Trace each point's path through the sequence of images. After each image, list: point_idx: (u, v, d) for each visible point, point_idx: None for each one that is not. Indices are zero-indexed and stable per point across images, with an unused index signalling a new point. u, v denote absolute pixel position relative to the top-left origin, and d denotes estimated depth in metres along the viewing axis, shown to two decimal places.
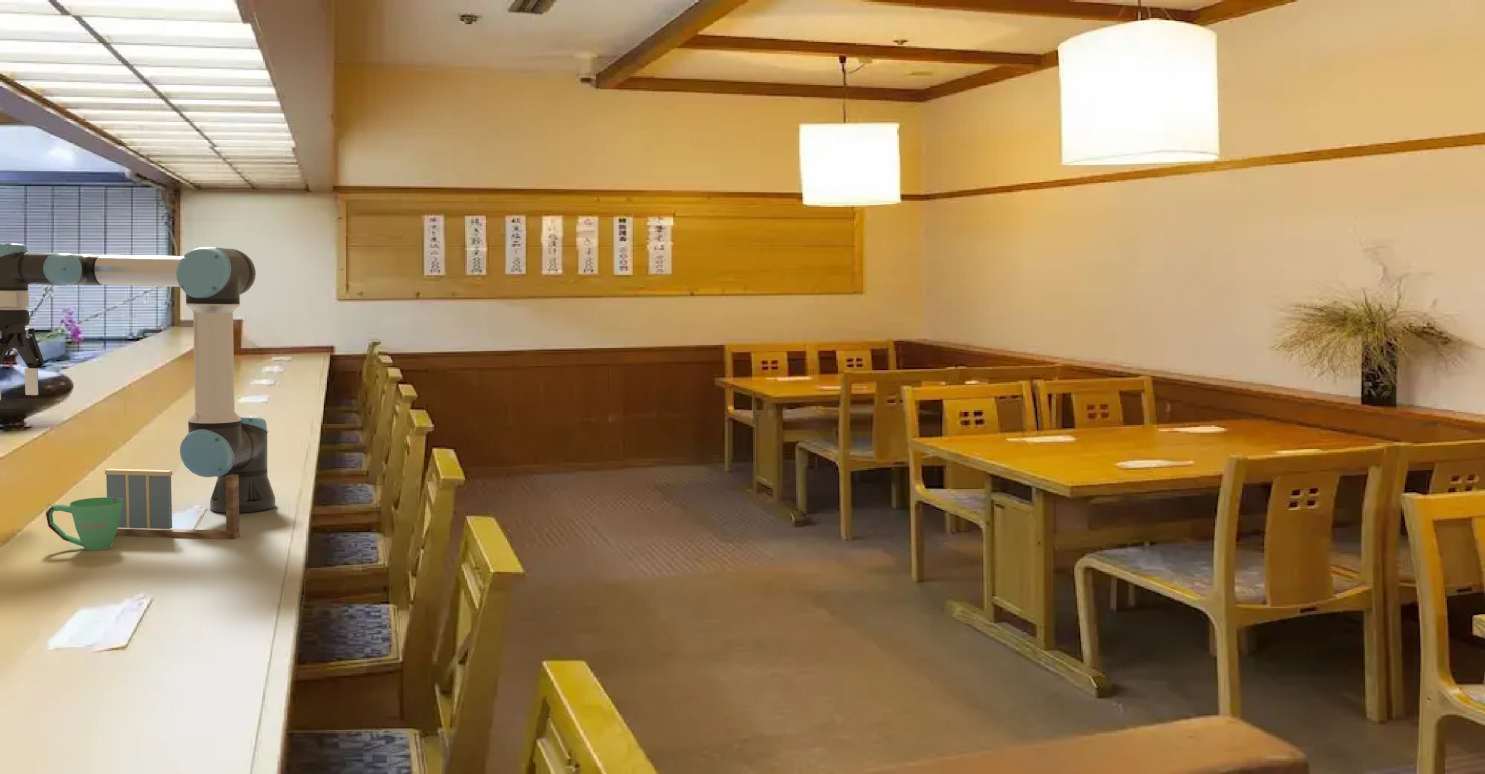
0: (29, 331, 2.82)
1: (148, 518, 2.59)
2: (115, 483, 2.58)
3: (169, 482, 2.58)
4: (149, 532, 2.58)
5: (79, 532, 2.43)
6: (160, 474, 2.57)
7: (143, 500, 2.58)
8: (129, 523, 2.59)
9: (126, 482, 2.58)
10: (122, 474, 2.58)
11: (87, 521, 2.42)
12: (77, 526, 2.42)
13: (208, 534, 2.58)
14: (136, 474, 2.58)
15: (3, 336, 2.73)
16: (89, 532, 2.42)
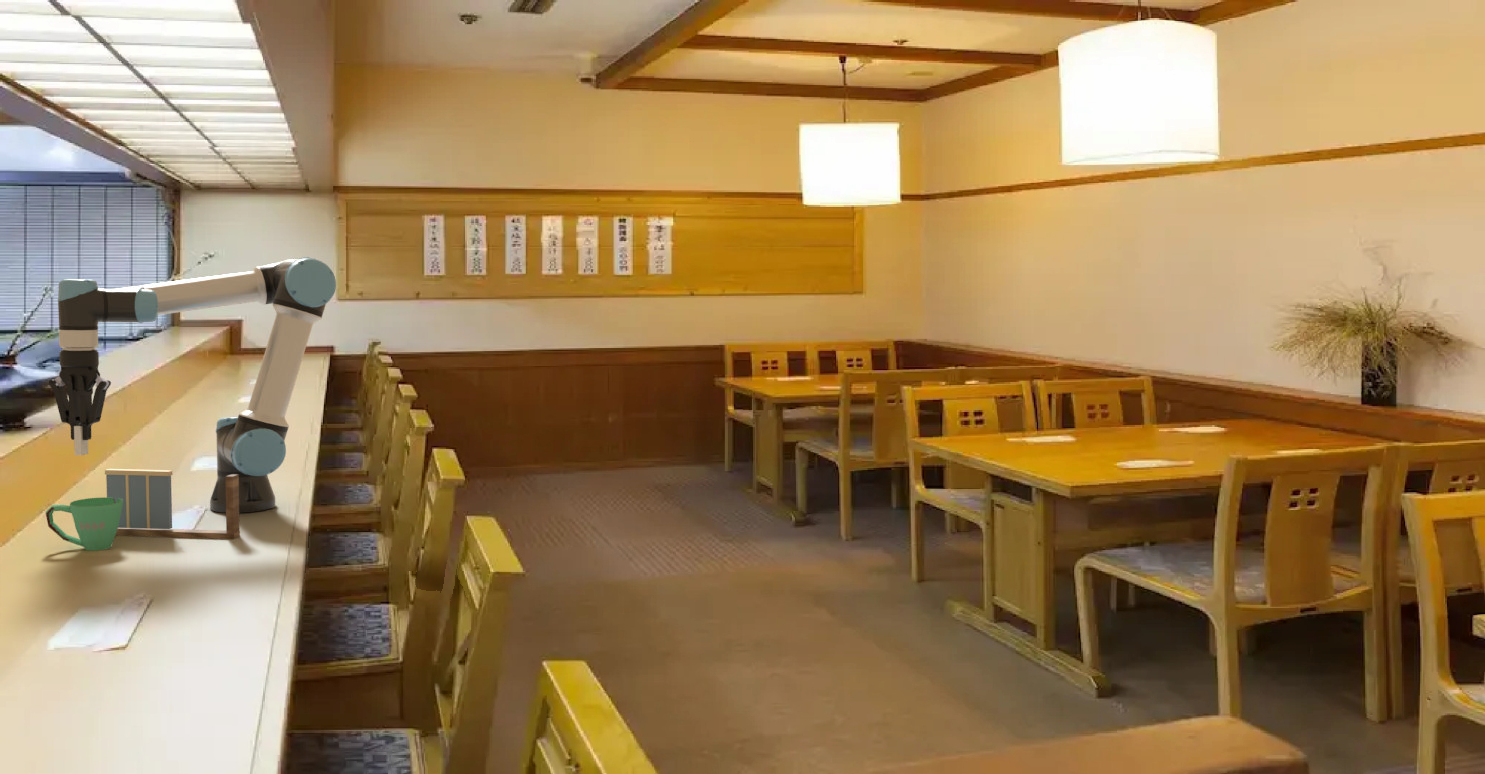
0: None
1: (148, 518, 2.59)
2: (115, 483, 2.58)
3: (169, 482, 2.58)
4: (149, 532, 2.58)
5: (79, 532, 2.43)
6: (160, 474, 2.57)
7: (143, 500, 2.58)
8: (129, 523, 2.59)
9: (126, 482, 2.58)
10: (122, 474, 2.58)
11: (87, 521, 2.42)
12: (77, 526, 2.42)
13: (208, 534, 2.58)
14: (136, 474, 2.58)
15: None
16: (89, 532, 2.42)
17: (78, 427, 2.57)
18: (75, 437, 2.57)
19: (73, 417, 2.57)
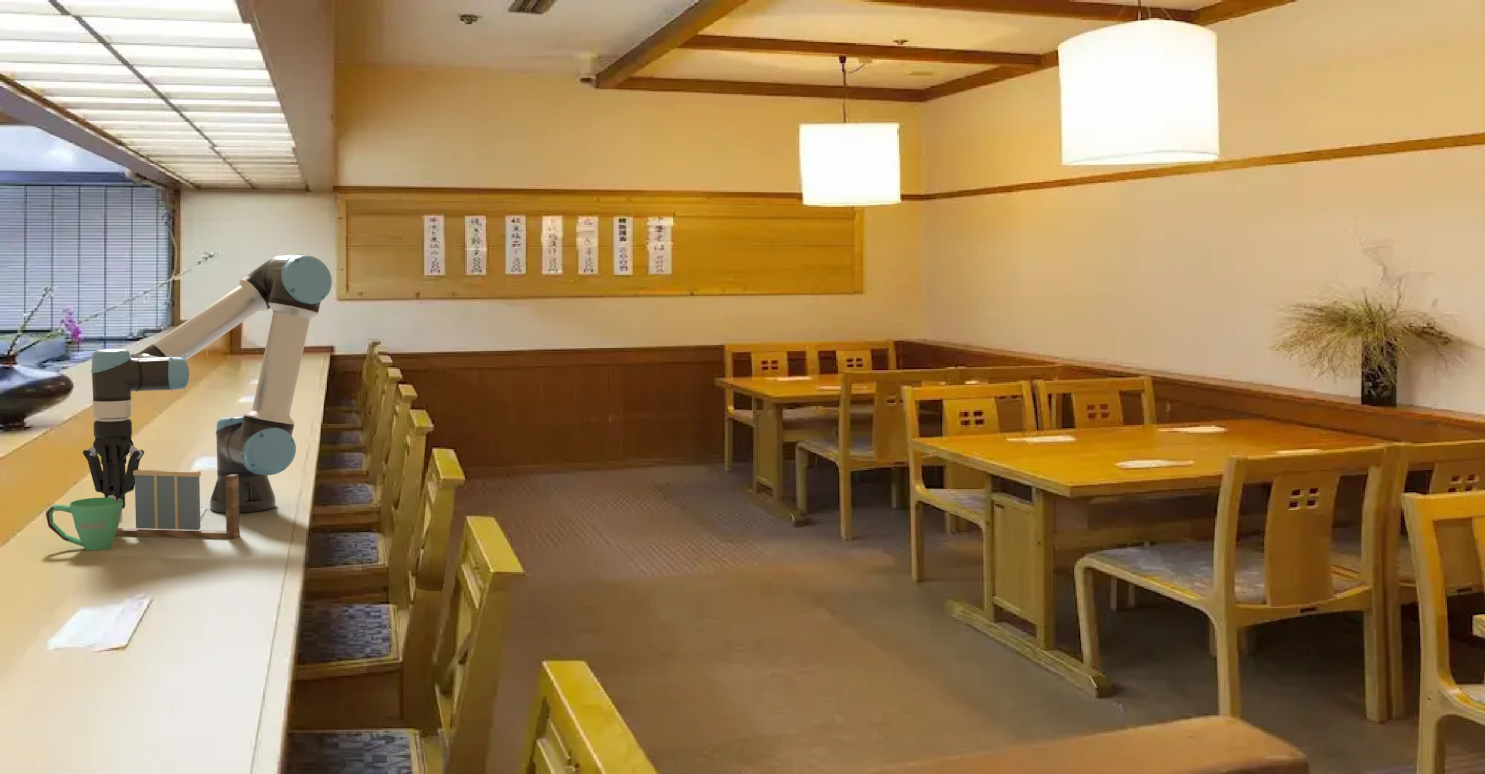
0: None
1: (176, 519, 2.58)
2: (143, 484, 2.58)
3: (197, 483, 2.58)
4: (149, 532, 2.58)
5: (79, 532, 2.43)
6: (189, 475, 2.57)
7: (171, 501, 2.58)
8: (157, 524, 2.59)
9: (154, 483, 2.58)
10: (151, 475, 2.57)
11: (87, 521, 2.42)
12: (77, 526, 2.42)
13: (208, 534, 2.58)
14: (164, 475, 2.57)
15: None
16: (89, 532, 2.42)
17: (112, 497, 2.58)
18: None
19: (107, 487, 2.58)
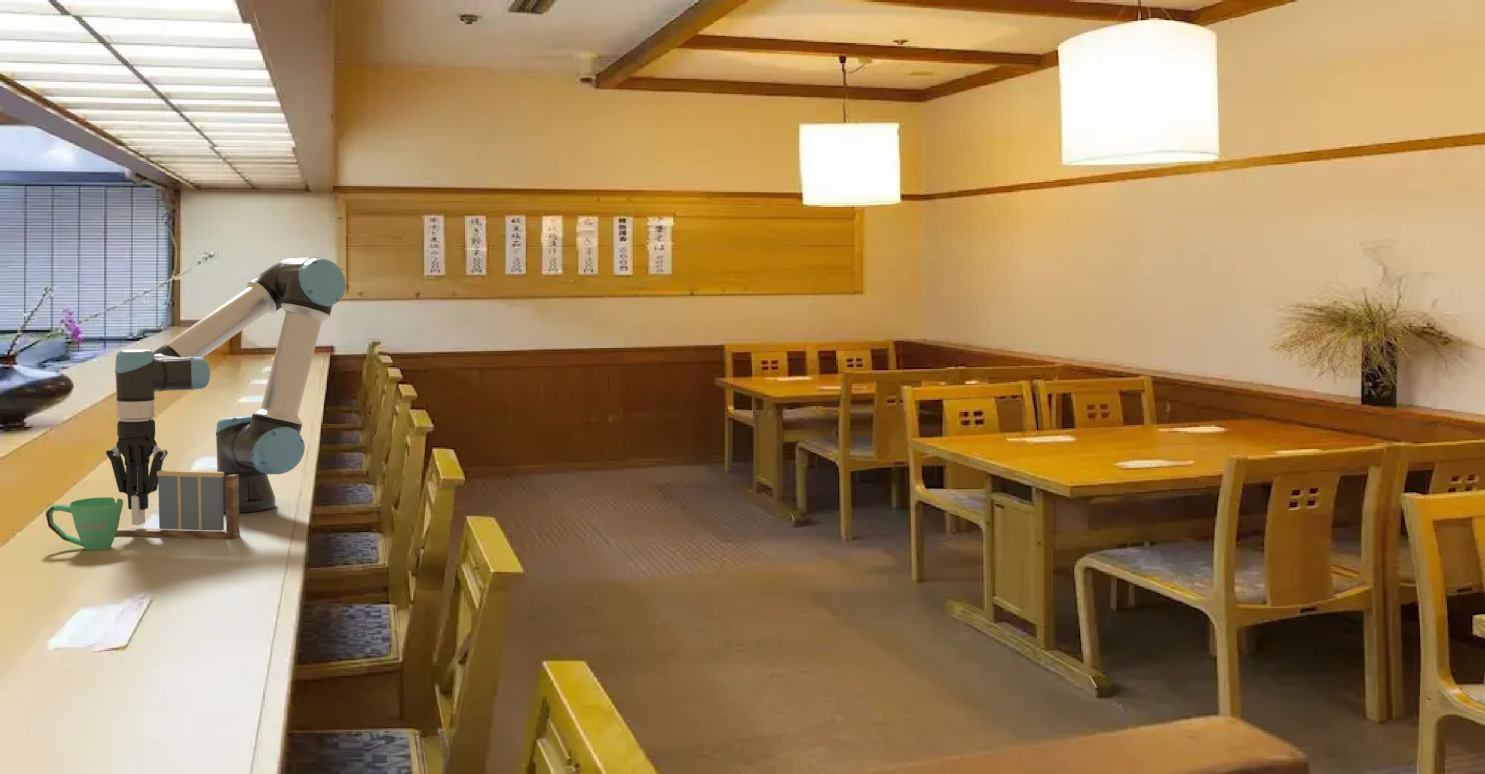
0: None
1: (200, 519, 2.58)
2: (167, 484, 2.58)
3: (221, 484, 2.58)
4: (149, 532, 2.58)
5: (79, 532, 2.43)
6: (212, 475, 2.57)
7: (195, 501, 2.58)
8: (181, 524, 2.58)
9: (178, 483, 2.58)
10: (174, 475, 2.57)
11: (87, 521, 2.42)
12: (77, 526, 2.42)
13: (208, 534, 2.58)
14: (188, 475, 2.57)
15: None
16: (89, 532, 2.42)
17: (135, 497, 2.58)
18: (132, 507, 2.58)
19: (130, 487, 2.58)
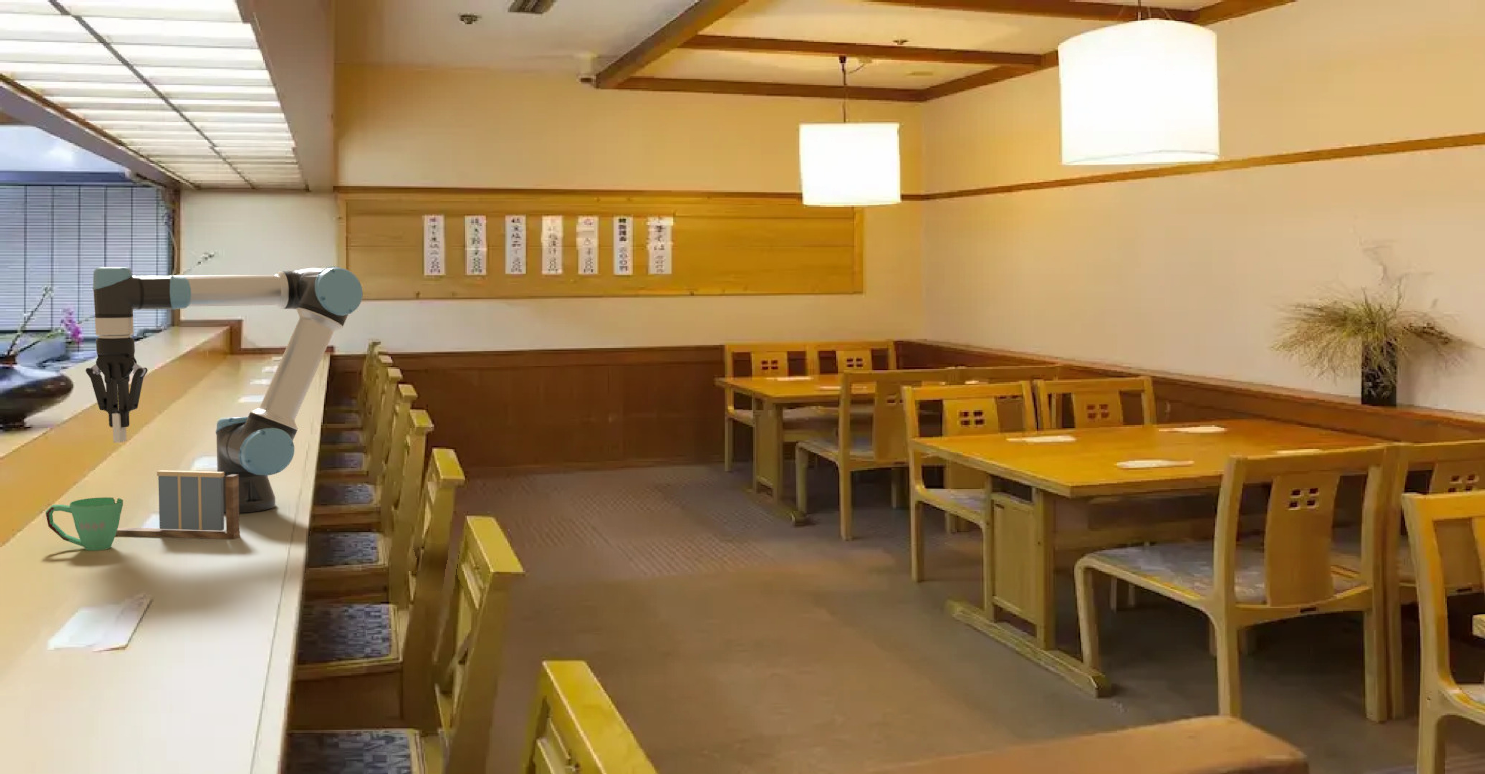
0: None
1: (200, 519, 2.58)
2: (167, 484, 2.58)
3: (221, 484, 2.58)
4: (149, 532, 2.58)
5: (79, 532, 2.43)
6: (212, 475, 2.57)
7: (195, 501, 2.58)
8: (181, 524, 2.58)
9: (178, 483, 2.58)
10: (174, 475, 2.57)
11: (87, 521, 2.42)
12: (77, 526, 2.42)
13: (208, 534, 2.58)
14: (188, 475, 2.57)
15: None
16: (89, 532, 2.42)
17: (116, 414, 2.58)
18: (113, 424, 2.58)
19: (111, 405, 2.58)
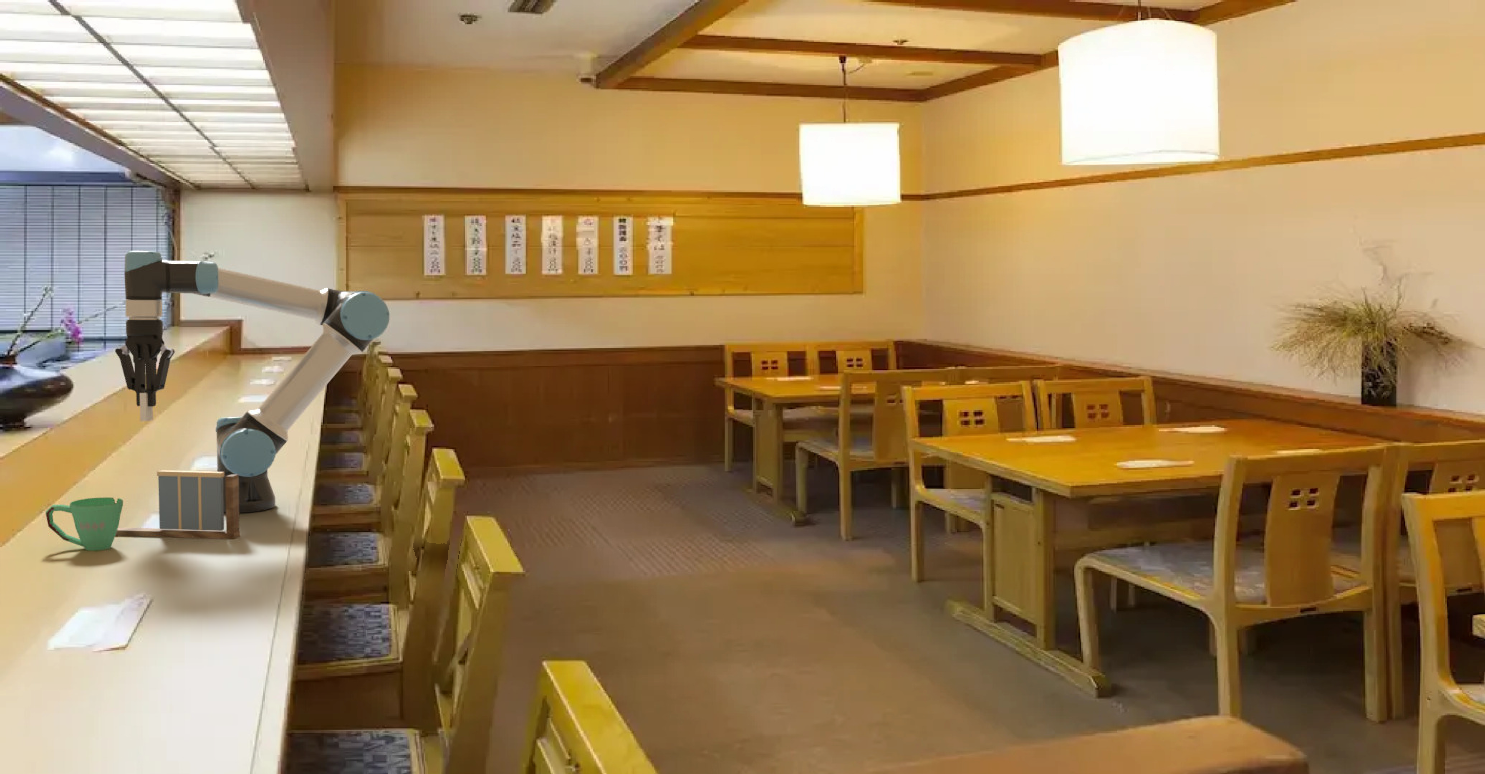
0: None
1: (200, 519, 2.58)
2: (167, 484, 2.58)
3: (221, 484, 2.58)
4: (149, 532, 2.58)
5: (79, 532, 2.43)
6: (212, 475, 2.57)
7: (195, 501, 2.58)
8: (181, 524, 2.58)
9: (178, 483, 2.58)
10: (174, 475, 2.57)
11: (87, 521, 2.42)
12: (77, 526, 2.42)
13: (208, 534, 2.58)
14: (188, 475, 2.57)
15: None
16: (89, 532, 2.42)
17: (144, 394, 2.67)
18: (141, 403, 2.67)
19: (139, 384, 2.67)
